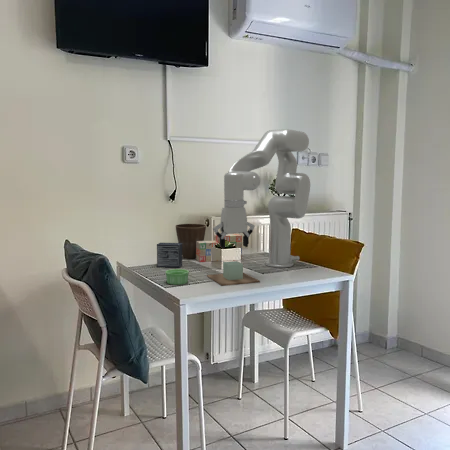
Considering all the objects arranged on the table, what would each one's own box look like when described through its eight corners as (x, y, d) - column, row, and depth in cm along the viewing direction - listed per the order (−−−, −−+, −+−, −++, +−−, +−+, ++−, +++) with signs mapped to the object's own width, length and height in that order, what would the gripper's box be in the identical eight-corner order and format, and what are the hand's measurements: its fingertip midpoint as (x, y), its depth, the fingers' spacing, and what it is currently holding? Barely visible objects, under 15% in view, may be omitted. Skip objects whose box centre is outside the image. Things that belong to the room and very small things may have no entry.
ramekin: (183, 278, 181) (183, 268, 180) (192, 283, 173) (192, 272, 172) (162, 281, 177) (162, 270, 176) (170, 286, 169) (170, 274, 168)
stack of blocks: (199, 262, 213) (199, 236, 211) (195, 260, 219) (195, 234, 217) (241, 260, 220) (242, 235, 218) (237, 257, 225) (237, 233, 224)
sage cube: (236, 275, 184) (236, 261, 183) (242, 278, 179) (243, 263, 178) (223, 276, 182) (223, 262, 181) (228, 280, 176) (228, 265, 176)
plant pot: (205, 260, 217) (205, 227, 215) (174, 260, 216) (174, 227, 214) (206, 254, 231) (206, 223, 229) (176, 254, 231) (176, 223, 229)
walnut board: (242, 273, 191) (242, 272, 191) (259, 282, 176) (259, 280, 176) (206, 276, 185) (207, 275, 185) (221, 285, 170) (221, 284, 170)
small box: (182, 265, 206) (182, 242, 205) (180, 268, 200) (180, 244, 198) (160, 264, 207) (159, 241, 206) (156, 267, 201) (156, 244, 199)
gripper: (250, 202, 183) (250, 244, 186) (209, 204, 177) (210, 247, 180) (258, 204, 177) (258, 247, 179) (216, 206, 170) (217, 251, 173)
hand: (234, 247), depth 179 cm, fingers open, 9 cm apart
